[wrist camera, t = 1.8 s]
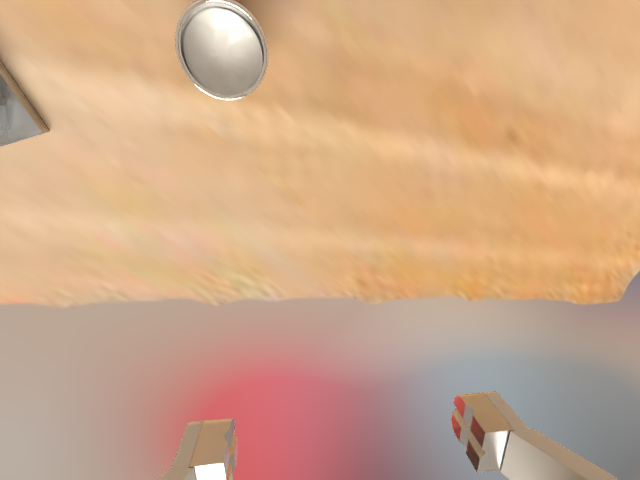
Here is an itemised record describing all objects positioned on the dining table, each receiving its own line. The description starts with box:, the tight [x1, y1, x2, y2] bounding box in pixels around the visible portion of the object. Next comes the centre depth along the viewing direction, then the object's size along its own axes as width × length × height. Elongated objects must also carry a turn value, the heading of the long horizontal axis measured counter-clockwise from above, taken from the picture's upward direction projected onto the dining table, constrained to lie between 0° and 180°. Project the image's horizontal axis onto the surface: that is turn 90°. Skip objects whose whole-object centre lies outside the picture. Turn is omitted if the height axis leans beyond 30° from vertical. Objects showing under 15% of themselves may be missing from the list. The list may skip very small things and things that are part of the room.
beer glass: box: [175, 0, 268, 101], centre depth 29 cm, size 7×7×15 cm
